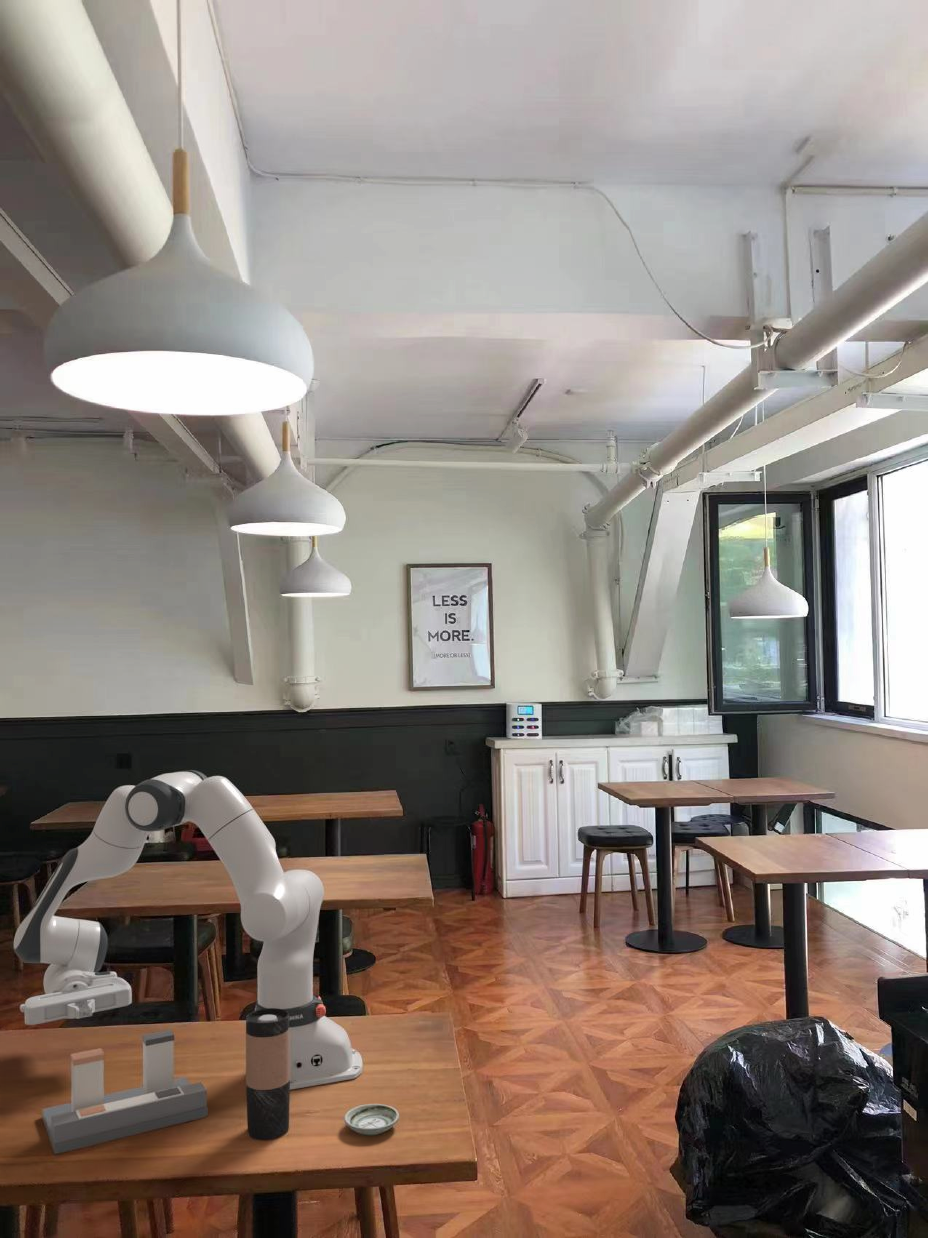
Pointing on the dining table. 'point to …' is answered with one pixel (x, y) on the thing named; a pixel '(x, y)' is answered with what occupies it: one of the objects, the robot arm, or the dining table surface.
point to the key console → (124, 1115)
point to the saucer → (371, 1118)
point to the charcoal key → (158, 1061)
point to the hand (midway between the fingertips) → (84, 1013)
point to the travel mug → (267, 1073)
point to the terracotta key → (87, 1079)
